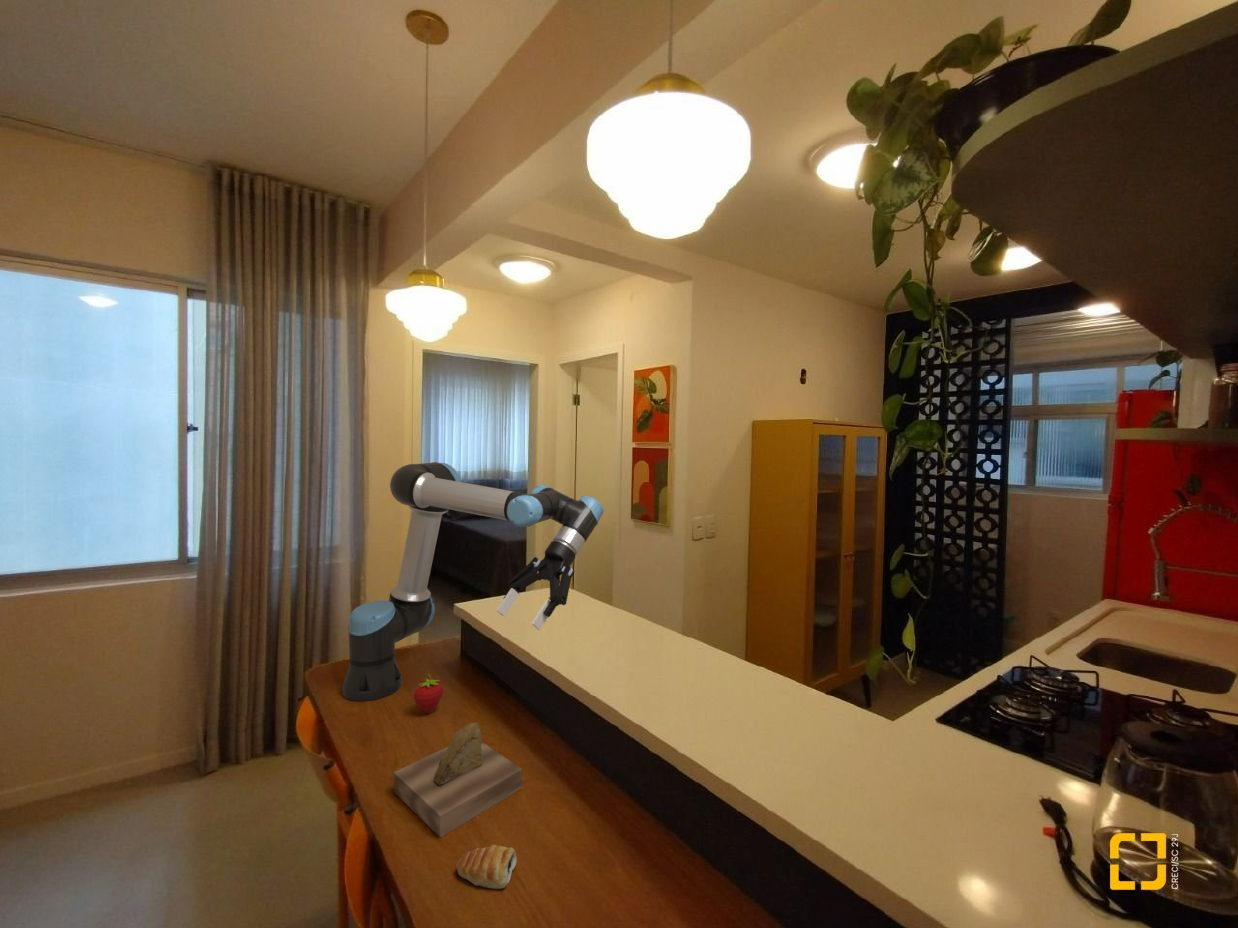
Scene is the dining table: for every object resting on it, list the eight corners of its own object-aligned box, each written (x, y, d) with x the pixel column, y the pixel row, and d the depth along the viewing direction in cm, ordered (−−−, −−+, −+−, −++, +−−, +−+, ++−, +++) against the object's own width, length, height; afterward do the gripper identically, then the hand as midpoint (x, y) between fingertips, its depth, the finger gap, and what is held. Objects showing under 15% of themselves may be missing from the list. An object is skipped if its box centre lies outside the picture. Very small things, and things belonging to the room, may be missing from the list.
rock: (433, 785, 98) (487, 766, 101) (426, 736, 102) (479, 719, 105) (436, 789, 106) (486, 771, 110) (429, 743, 110) (478, 728, 114)
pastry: (449, 887, 83) (449, 864, 83) (465, 854, 90) (465, 832, 90) (507, 893, 82) (507, 869, 82) (519, 859, 89) (519, 837, 89)
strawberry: (409, 714, 135) (409, 676, 134) (437, 703, 140) (436, 667, 140) (420, 722, 131) (420, 683, 130) (448, 711, 136) (448, 673, 136)
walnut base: (393, 791, 105) (393, 772, 105) (472, 752, 119) (472, 735, 118) (440, 837, 93) (440, 815, 93) (521, 788, 107) (521, 769, 106)
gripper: (606, 564, 130) (560, 641, 119) (540, 549, 146) (495, 616, 136) (591, 546, 125) (542, 624, 115) (525, 533, 142) (477, 600, 132)
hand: (517, 620), depth 125 cm, fingers open, 13 cm apart
